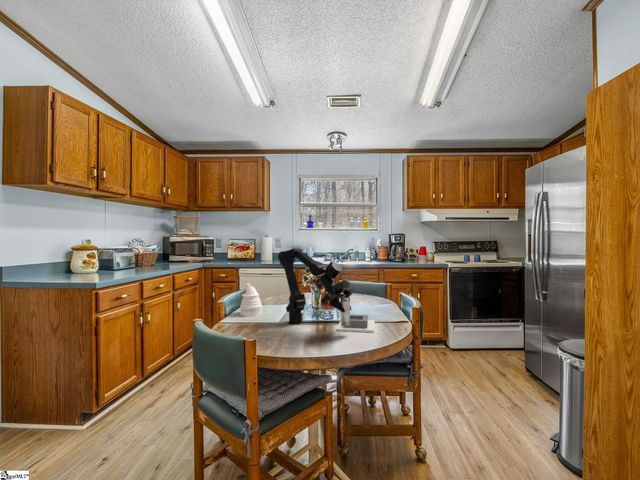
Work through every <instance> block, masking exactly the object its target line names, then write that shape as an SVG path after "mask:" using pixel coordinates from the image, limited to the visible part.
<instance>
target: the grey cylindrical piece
mask: <svg viewBox="0 0 640 480" xmlns="http://www.w3.org/2000/svg"><path fill="white" fill-rule="evenodd" d="M339 301H340V303H341V305H342V306H343V308H344V310H345V312H344V313H343V312H341V311H340V320H341V325H342V326H349V325H350V314H351V311H350V306H351V298H350V297H341V298H339Z"/></svg>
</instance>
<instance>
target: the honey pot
mask: <svg viewBox="0 0 640 480" xmlns="http://www.w3.org/2000/svg"><path fill="white" fill-rule="evenodd" d="M245 287H247V289H246V290H245V292H244V293H243V294H242V295H241V296H242V299H241V303H240V306H239V308H240V309H239V312H240V316H241V317H245V316H248V317H249V318H251V317H258V316H261V315H262V314H263V304H262V301H261V298H260V293H258V292H257V290H256V288H255V287H254V286H252V285H251V283H245Z"/></svg>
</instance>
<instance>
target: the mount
mask: <svg viewBox="0 0 640 480" xmlns="http://www.w3.org/2000/svg"><path fill="white" fill-rule="evenodd" d="M375 324H376V323H375V320H374V319H369V315H368V314H351V313H350V325H349V326H342V325H341V319H340V321H339V323H338V325H337V327H336V332H351V333H352V332H353V333H375Z"/></svg>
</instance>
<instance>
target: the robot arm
mask: <svg viewBox="0 0 640 480" xmlns="http://www.w3.org/2000/svg"><path fill="white" fill-rule="evenodd" d="M295 258H296V260H298V261H300V263H302V264H303V265H304V266H306V267H307V268H308V271H309V273H310V274H311V275H313V277H318V278H317V279H316V284H317V285H318V284H321V285H322V287H323V288H324V293H325V295H323V297H322V298H321V299H320V304H322V306H327V305H328V306H331V307H332V308H335V309H336V310H338V311H340V313H341V312H343V313H344V312H345V310H344V308H343V306H342V305H341V303H340V298H341V297H349V298H350V297H351V296H352V294H353V293H354V290H353V289H352V288H349V286H350V281H349V280H348V279H346V278H345V279H342V280H340V281H339V282H337V281H336V282H335V279H337V277H338V276H339V274H340V273H341V272H342V271H343V267H342V265H341V264H339V263H337V262H336V261H335V260H333V261H330V262H329V264H328V265H326V264H324V263H322V262H321V261H317V260H314V259H313V258H312V257H310V255H308V254H307V253H306V252H304V251H303V250H302V249H301V248H299V247H295V248H291V249H289V250H281V251H280V252H279V253H278V254H277V259H278V261H279V263H280V265H281V266H282V267H283V270H284V273H285V278H286V280H287V281H286V282H287V285H288V288H289V299H288V304H287V305H286V307H285V309H286V312H287V313H288V322H287V323H288V324H291V325H292V324H295V325H300V324H301V323H302V322H303V320H304V319H303V318H304V317H303V315H304V314H303V311H304V310H305V307H306V304H307V302H306V301H307V299H306V296H305V293H302V292H301V291H300V287H299V284H298V280H297V275H296V272H295V271H296V270H295V268H294V263H295ZM328 302H329V303H328ZM351 311H352V305H350V312H351Z"/></svg>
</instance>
